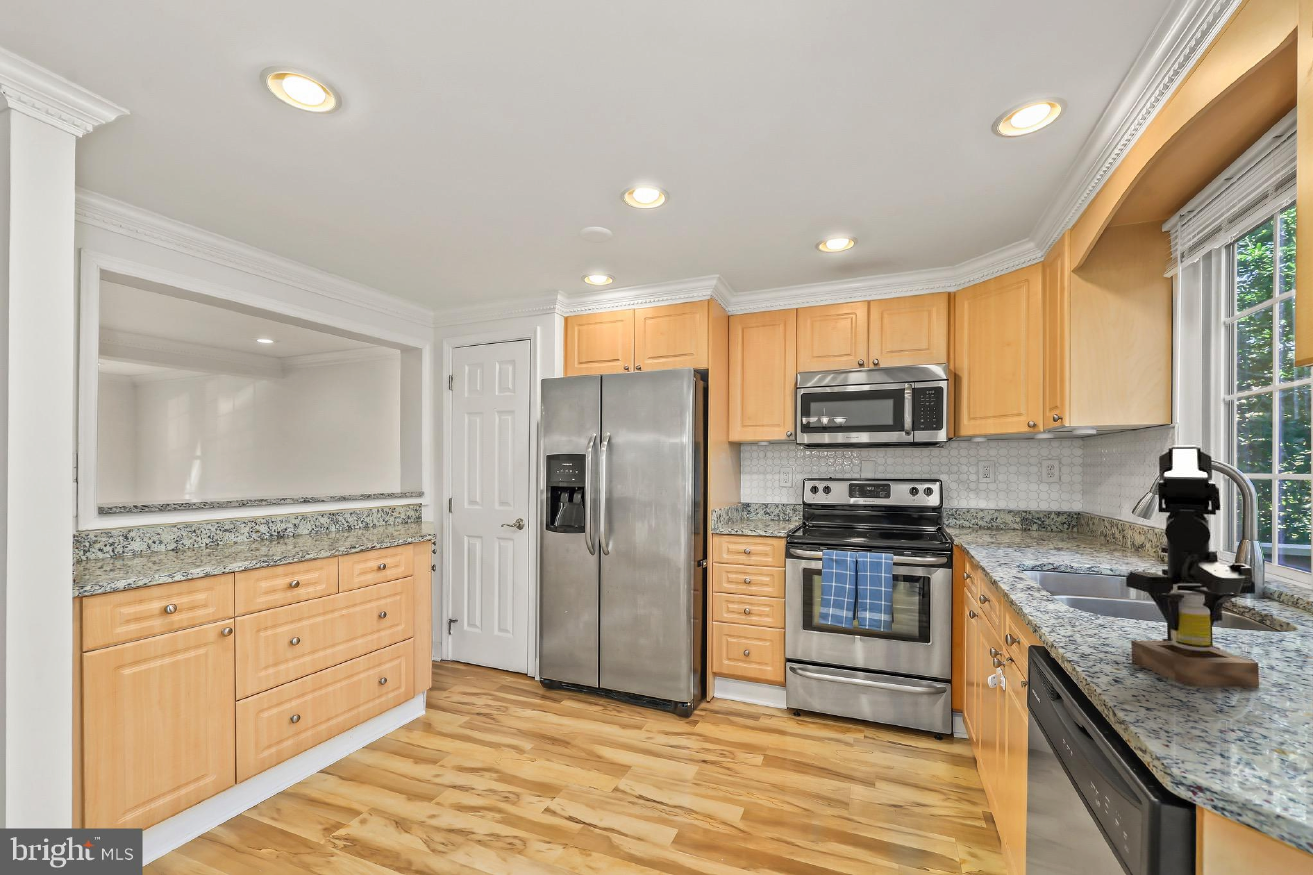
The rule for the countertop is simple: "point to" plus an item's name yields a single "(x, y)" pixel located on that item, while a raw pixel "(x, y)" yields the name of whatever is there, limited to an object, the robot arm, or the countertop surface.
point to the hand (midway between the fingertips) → (1190, 630)
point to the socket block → (1195, 665)
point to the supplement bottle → (1193, 623)
